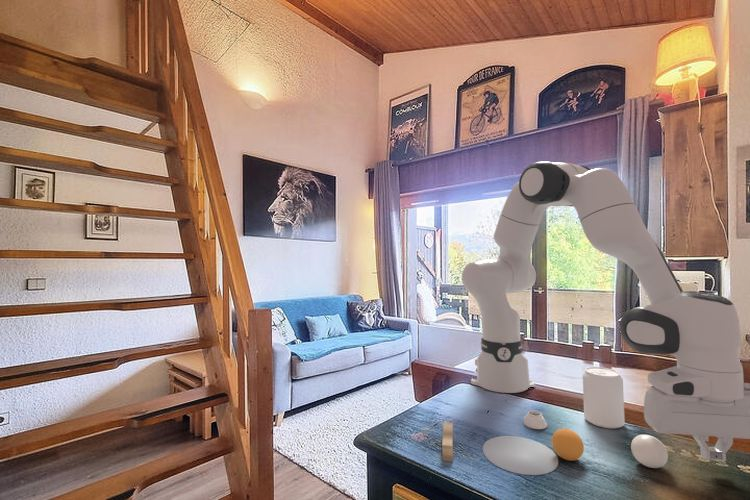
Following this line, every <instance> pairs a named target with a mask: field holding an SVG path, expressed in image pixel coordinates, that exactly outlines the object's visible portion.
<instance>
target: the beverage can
mask: <svg viewBox="0 0 750 500" xmlns="http://www.w3.org/2000/svg"><path fill="white" fill-rule="evenodd" d="M582 391H583V392H582V394H583V396H582V397H583V417H584V420H586V421H587V422H589V423H591V424H592V425H594V426H597V427H600V428H604V429H619V428H622V427H623V426H625V403H624V402H625V398H624V379H623V377H622V376H621V372H619V371H617V370H615V369H612V368H607V367H601V366H588V367H586V368H584V372H583V373H582Z"/></svg>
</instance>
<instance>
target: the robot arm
mask: <svg viewBox="0 0 750 500" xmlns="http://www.w3.org/2000/svg"><path fill="white" fill-rule="evenodd" d="M549 207H574V209H575V211H576V213H577V216H578V219H579V222H580V225H581V228H582V230H583V234H584V235H585V237H586V239H587V240H588V242H589V243H590V245H591V246H592V247H593V248H594V249H595V250H597V251H598V252H601V253H603V254H606V255H608V256H609V257H613V258H615V259H617V260H619V261H621V262H622V263H625V264H626V265H627V266H628V267H629V268H630V269H631V270H632V271H633V272H634V274H635V275H636V276H637V279H638V280H639V283H640V285H641V286H642V288H643V291H644V293H645V294H646V296H647V298H648V300H649V302H650V304H648V305H647V304H646V305H642V306H637V307H633V308H631V309H628V310H627V311H626V312H625V313H623V315H622V316H621V319H620V321H619V331H620V334H621V337H622V340H623V341H624V342H625V343H626V345H627V346H629V347H630V348H631V349H633V350H634V351H635V352H638V353H641V354H647V355H672V356H674V357H675V359H676V365H675V366H672V367H671V366H670V367H668V368H664V369H661V370H656V371H651V372H650V373H648V374H647V382H648V383H649V384H650V385H651V386H649V387H648V388H647V389H646V391H645V394H644V400H643V402H644V403H643V417H644V421H645V422H646V424H647V425H648V426H649V427H650V428H651V429H653V431H655V432H657V433H659V434H672V435H673V434H675V435H687V436H688V435H690V436H692V438H694V440H695V442H696V443H697V445H698V446H699V448H700V449H699V450H700V456H701V457H702V458H703V459H704V460H707V461H716V462H717V461H718V462H719V461H720V462H727V455H726V454H727V452H728V451H729V450H730V448H731V447H732V445H734V439H745V440H747V439H748V440H750V383H748V382H745V381H744V369H743V365H742V363H741V361H740V352H741V349H742V336H741V335H742V334H741V327H740V326H741V325H740V320H739V315H738V312H737V309H736V306H735V304H734V303H733V302H732V301H731V300H730V299H728V298H726V297H724V296H722V295H719V294H715V293H709V292H705V291H696V290H695V291H694V290H686V291H685V290H683V289H682V287H681V285H680V283H679V282H678V280H677V277H676V276H675V274H674V272H673V270H672V269H671V267H670V265H669V262H668V261H667V260H666V257H665V256H664V254H663V252H662V251H661V249H660V248H659V246H658V245H657V243H656V241H655V240H654V238H653V237H652V236H651V233H650V232H649V230H648V228H647V227H646V225H645V223H644V221H643V219H642V217H641V214H640V212H639V210H638V209H637V208H638V207H637V206H636V204H635V201H634V199H633V196H632V195H631V193H630V191H629V190H628V188H627V186H626V185H625V184H624V182H623V181H622V179H621V178H620V176H619V175H618V174H617V173H616V172H615V171H614V170H612V169H609V168H605V167H604V168H603V167H598V168H594V169H591V168H590V167H587V166H584V165H579V164H575V163H574V164H573V163H569V162H551V161H548V160H547V161H537V162H533V163H531V164H529V165H527V166H526V168H524V169H523V172H522V173H521V174H520V177H519V181H517V182H516V183H515V184H514V185H513V186H512V189H511V190H510V192H509V194H508V196H507V197H506V200H505V202H504V205H503V207H502V210H501V213H500V216H499V219H498V222H497V224H496V228H495V230H494V233H493V240H494V242H495V244H496V245H498V246H499V247H498V248H499V254H498V257H497V258H489V259H488V258H487V259H486V258H484V259H479V260H474V261H472V262H469V263H467V264H466V265H465V266H464V267H463V270H462V274H461V281H462V284H463V287H464V289H465V290H466V291H467V292H468V293H470V295H471V296H472V297H473V298H474V299H475V301H476V303H477V305H478V308H479V312H480V315H481V329H482V331H481V332H482V334H481V335H482V337H481V341H480V350H481V352H480V353H479V354H478V356H477V358H476V357H475V359H474V365H475V366H477V367H476V368H475V370H474V373H477V379H473V378H472V377H471V379H470V384H471V385H474V386H477V387H480V388H482V389H485V390H488V391H491V392H494V393H495V392H496V393H504V394H517V393H522V392H525V391H527V390H529V389H530V388H529V387H532V386H535V387H536V383H535V382H534V381H533V380H531V379H530V374H529V373H530V372H529V371H530V370H529V362H528V358H526V357H525V355H524V354H523V341H522V339H521V322H520V321H521V320H520V315H519V313H518V311H517V310H516V309H514V308H512V306H511V305H510V303H509V300H508V298H507V296H508V295H509V294H518V293H522V292H524V291H527V290H529V289H531V288H532V287H533V286H534V285H535V283H536V279H537V272H536V269H535V267H534V265H533V264H532V260H531V253H532V247H533V244H534V241H535V238H536V236H537V233H538V230H539V228H540V225H541V222H542V220H543V216H544V214H545V212H546V210H547V209H548V208H549ZM528 388H529V389H528ZM709 437H716V438H717V441H716V443H715V445H714V446H708V444H707V443H706V442H709V440H710V439H709Z"/></svg>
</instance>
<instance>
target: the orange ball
mask: <svg viewBox="0 0 750 500" xmlns="http://www.w3.org/2000/svg"><path fill="white" fill-rule="evenodd" d="M551 445H552V447H553V450H554V453H555V454H556V455H558V456H559V457H560V458H562V459H564V460H565V461H576V460H577V461H578V460H579V459H580V458H581V457H582V456H583V455H584V452H585V446H584V442H583V440H582V438H581V437H580V435H579V434H578V433H576V432H575V431H574V430H572V429H569V428H560V429H557V430H556V431H555V432H554V433H553V435H552V438H551Z"/></svg>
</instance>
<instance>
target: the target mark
mask: <svg viewBox="0 0 750 500" xmlns="http://www.w3.org/2000/svg"><path fill="white" fill-rule="evenodd" d="M482 452H483V455H484V457H485V458H486V459H487V460H488V461H489V463H491V464H493V465H494V466H495V467H498V468H500V469H503V470H504V471H508V472H510V473H514V474H517V475H526V476H540V475H546V474H549V473H551V472H553V471H554V470H556V469H557V468H558V466H559V458H558V456H557V453H556V452H555V451H553V450H552V449H551V448H549V447H548V446H546V445H544V444H543V443H541V442H539V441H537V440H533V439H531V438H528V437H527V438H526V437H521V436H514V435H513V436H512V435H500V436H495V437H493V438H492V437H491V438H490V439H488V440H487V441H485V442H484V444H483V445H482Z"/></svg>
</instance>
